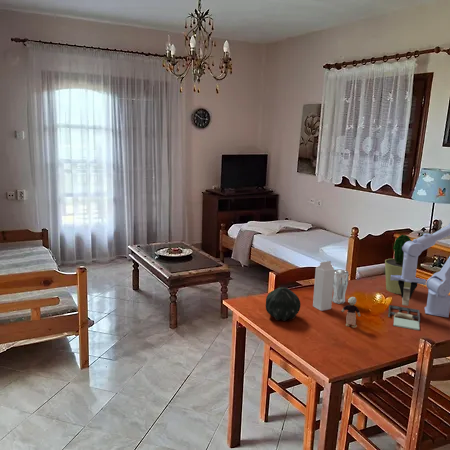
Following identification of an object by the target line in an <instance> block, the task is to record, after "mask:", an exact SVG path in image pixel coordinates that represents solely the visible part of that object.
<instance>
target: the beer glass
mask: <svg viewBox="0 0 450 450" xmlns="http://www.w3.org/2000/svg"><path fill="white" fill-rule="evenodd" d="M334 270H335V271H334V282H333V294H332V303H335V304H338V305H341V304H342V305H344V304H345V303H346V292H347V287H348V284H349V271H348V270H346V269H341V268H340V269H334Z"/></svg>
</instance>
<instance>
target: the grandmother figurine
mask: <svg viewBox="0 0 450 450" xmlns="http://www.w3.org/2000/svg"><path fill="white" fill-rule="evenodd" d="M347 302H348V303H349V304H346V305H345V306H343V307H342V309H341V312H342V313H344V312H345V311H347V312H346V320H345V321H346V323H345V326H346V327H348V328H349V327H351V328H352V329H354V328H357V327H358V325H357V323H356V322H357V316H358V317H361V313H360V312H361V311H360V310H359V308H358V307H357V305H356V303H357V298H356V297H355V296H350V297H349V298H348V299H347ZM356 314H357V315H356Z"/></svg>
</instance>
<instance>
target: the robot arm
mask: <svg viewBox="0 0 450 450" xmlns="http://www.w3.org/2000/svg"><path fill="white" fill-rule="evenodd" d="M449 236H450V223H448V224H447V225H446V226H443V227H442V228H440V229H438V230H436V231H435V232H434V233H423V234H422V236H421V235H420V236H419V237H418V238H414V239H412V240H411V241H407V242H406V243H405V244H404V245H403V246H402V250H403V252H404V259H403V268H402V276H399V275H391V279H390V280H392V281H393V280H396V281H398V284H399V287H400V290H401V294H400V297H401V298H403V290H404V282H410V283H411V287H410V297H409V300H411V299H412V295H413V293H414V291H415V290H416V289H417V287H418V285H423V286H426V288H427V290H428V291H427V292H428V293H427V300H426V306H424V314H426V315H430V316H436V317H444V318H449V315H450V256H449V257H448V258H447V260H446V261H445V262H444V264H443V266H442V267H441V269H440V271H437V272H435V273H433V274H432V275H431V276H430V277H429V278H428V279H424V278H419V277H416V276H417V275H416V274H417V268H418V259H419V256H420V255H421V254H422V252H424V251H426V250H427V249H429V248H431V247H433V246H435V245H436V242H437V241H440V240H442V239H444V238H446V237H449Z"/></svg>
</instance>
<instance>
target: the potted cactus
mask: <svg viewBox="0 0 450 450" xmlns="http://www.w3.org/2000/svg"><path fill="white" fill-rule="evenodd" d="M407 241H412V238H410V235H407V234H400V235H398V237H396V238H395V240H394V242H393V247H392V249H393V254H394V255H393V258H388V259H385V260H384V265H385V266H384V267H385V269H384V271H385V289H386V291H387V292H389V293H392V294H395V295H396V294H397V295H401V290H400V287H399V284H398V281H396V280H393V281H392V280H390V279H391V275H399V276H402V268H403V259H404V252H403V250H402V246H403V245H404V244H405V243H406V242H407ZM404 287H408V288H410V287H411V283H410V282H404Z"/></svg>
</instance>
